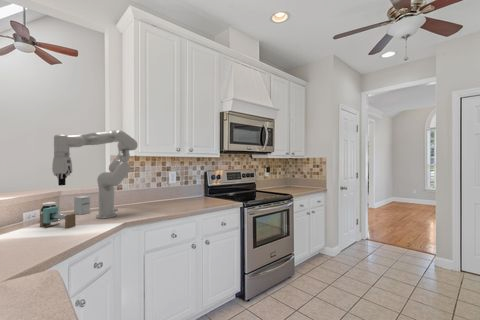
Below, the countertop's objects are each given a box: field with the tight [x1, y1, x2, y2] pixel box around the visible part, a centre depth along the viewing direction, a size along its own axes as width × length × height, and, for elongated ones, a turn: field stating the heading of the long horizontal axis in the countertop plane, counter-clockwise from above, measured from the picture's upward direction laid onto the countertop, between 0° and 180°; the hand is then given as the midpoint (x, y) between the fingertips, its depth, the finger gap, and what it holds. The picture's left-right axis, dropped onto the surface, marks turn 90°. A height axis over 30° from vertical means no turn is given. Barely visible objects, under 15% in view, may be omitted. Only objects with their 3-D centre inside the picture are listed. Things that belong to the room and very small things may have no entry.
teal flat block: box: [43, 206, 59, 223], centre depth 143 cm, size 3×7×8 cm, turn 170°
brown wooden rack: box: [39, 212, 76, 229], centre depth 142 cm, size 20×9×8 cm, turn 80°
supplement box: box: [73, 195, 91, 216], centre depth 176 cm, size 7×7×13 cm
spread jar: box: [40, 201, 62, 221], centre depth 156 cm, size 12×11×12 cm
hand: (62, 185), depth 142 cm, fingers closed
